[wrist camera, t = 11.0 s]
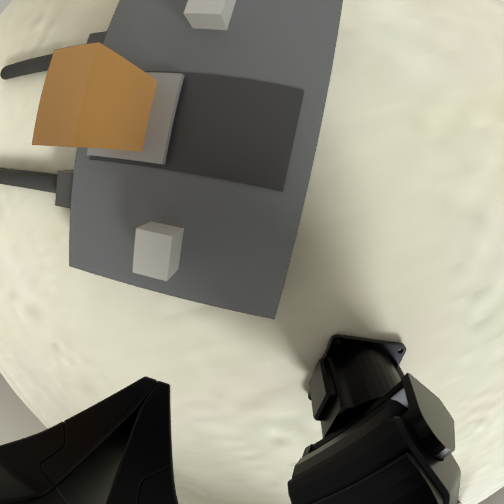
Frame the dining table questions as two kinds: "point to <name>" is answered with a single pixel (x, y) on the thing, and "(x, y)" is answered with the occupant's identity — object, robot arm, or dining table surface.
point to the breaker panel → (210, 151)
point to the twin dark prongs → (20, 176)
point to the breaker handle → (106, 105)
